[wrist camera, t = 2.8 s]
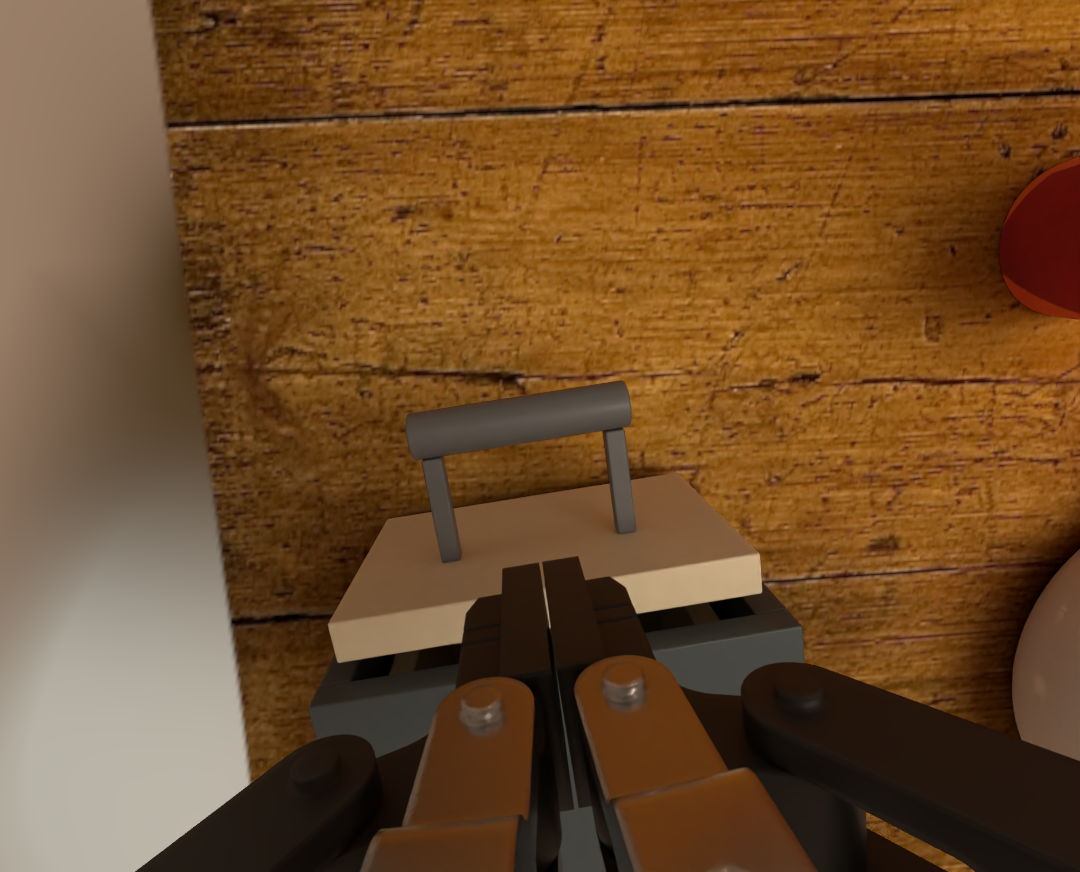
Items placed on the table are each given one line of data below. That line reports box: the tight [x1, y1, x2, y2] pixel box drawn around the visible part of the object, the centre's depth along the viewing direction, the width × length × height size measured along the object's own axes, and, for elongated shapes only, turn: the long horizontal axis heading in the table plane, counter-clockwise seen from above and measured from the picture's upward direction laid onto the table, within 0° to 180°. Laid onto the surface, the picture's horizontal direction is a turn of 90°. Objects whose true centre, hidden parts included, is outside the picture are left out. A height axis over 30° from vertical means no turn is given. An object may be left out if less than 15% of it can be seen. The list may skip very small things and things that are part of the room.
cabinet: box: [309, 582, 804, 872], centre depth 21 cm, size 15×13×10 cm
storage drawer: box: [328, 381, 762, 675], centre depth 20 cm, size 18×12×8 cm, turn 9°
